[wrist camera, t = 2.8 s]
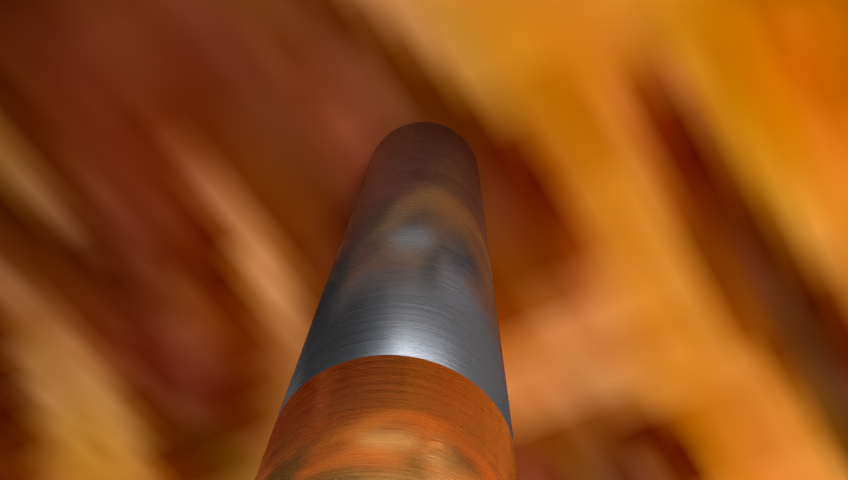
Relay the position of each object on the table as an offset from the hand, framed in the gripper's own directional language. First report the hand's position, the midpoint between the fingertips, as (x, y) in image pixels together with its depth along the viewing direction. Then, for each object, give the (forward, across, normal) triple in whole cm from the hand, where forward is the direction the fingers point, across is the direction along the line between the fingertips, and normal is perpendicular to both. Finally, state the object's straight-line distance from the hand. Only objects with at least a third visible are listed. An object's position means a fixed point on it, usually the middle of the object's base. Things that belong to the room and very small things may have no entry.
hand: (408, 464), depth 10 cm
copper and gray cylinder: (+13, 0, 0) cm, 13 cm away
